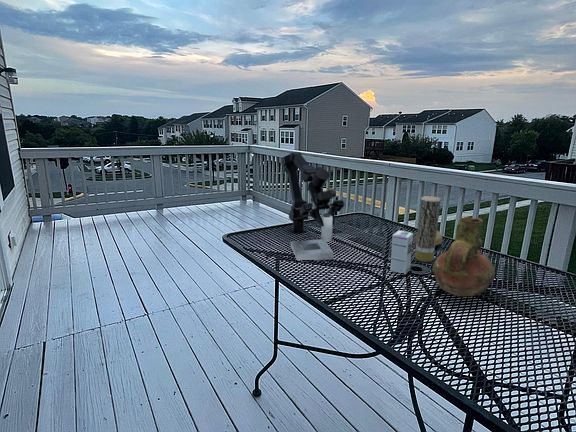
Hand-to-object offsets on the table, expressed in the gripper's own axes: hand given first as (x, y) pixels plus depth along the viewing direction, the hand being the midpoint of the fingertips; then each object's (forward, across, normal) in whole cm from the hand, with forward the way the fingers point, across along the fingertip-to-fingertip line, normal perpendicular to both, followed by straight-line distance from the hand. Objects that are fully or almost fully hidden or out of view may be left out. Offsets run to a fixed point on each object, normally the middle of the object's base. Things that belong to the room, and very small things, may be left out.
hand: (328, 225), depth 132 cm
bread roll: (+15, +44, +3) cm, 47 cm away
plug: (+4, 0, +6) cm, 7 cm away
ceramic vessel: (+39, +26, -22) cm, 52 cm away
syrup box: (+26, +18, -8) cm, 32 cm away
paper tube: (+23, +33, -5) cm, 40 cm away
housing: (+7, -6, +11) cm, 14 cm away
